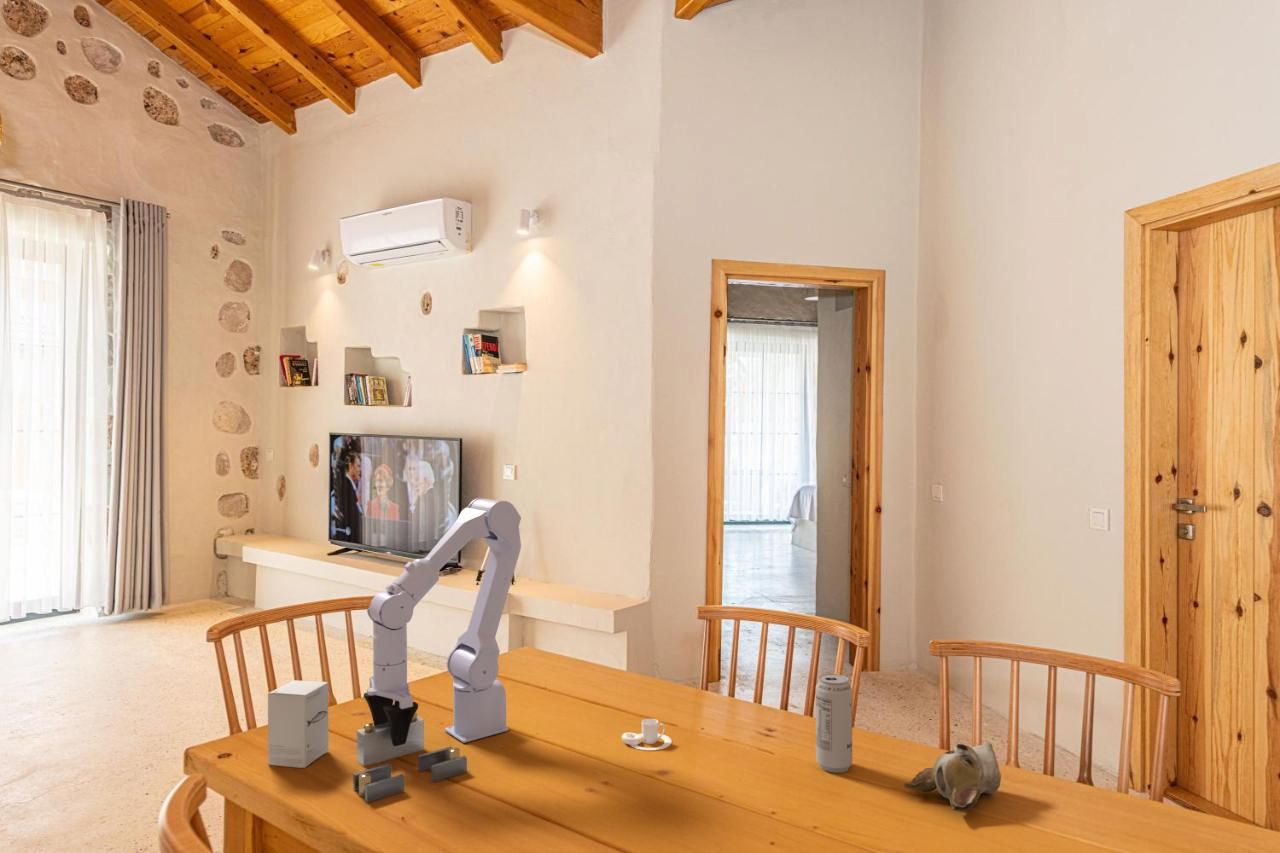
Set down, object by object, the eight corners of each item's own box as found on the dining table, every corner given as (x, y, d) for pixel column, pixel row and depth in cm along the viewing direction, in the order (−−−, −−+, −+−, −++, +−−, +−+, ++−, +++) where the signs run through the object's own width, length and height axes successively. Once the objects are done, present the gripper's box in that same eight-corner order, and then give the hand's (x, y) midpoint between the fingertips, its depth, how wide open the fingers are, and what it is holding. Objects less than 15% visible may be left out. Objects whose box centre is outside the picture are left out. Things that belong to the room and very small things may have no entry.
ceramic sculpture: (1020, 743, 127) (955, 771, 119) (1022, 798, 127) (958, 830, 119) (961, 722, 136) (898, 747, 128) (964, 773, 136) (901, 801, 128)
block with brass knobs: (417, 745, 150) (416, 709, 150) (424, 750, 147) (423, 714, 147) (357, 761, 143) (356, 724, 143) (363, 767, 140) (363, 729, 140)
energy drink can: (857, 773, 136) (857, 683, 136) (821, 774, 136) (821, 684, 136) (845, 758, 142) (845, 672, 142) (811, 759, 142) (811, 673, 142)
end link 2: (451, 760, 143) (451, 743, 142) (467, 772, 138) (467, 754, 138) (418, 770, 139) (417, 752, 139) (433, 782, 134) (433, 764, 134)
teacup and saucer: (617, 748, 148) (617, 726, 148) (634, 732, 156) (633, 711, 156) (662, 755, 145) (662, 732, 145) (677, 739, 152) (677, 717, 152)
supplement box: (305, 769, 139) (304, 695, 139) (266, 765, 141) (265, 692, 141) (330, 751, 147) (329, 681, 146) (293, 748, 148) (292, 678, 148)
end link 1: (389, 778, 136) (389, 760, 135) (404, 791, 131) (404, 772, 131) (352, 789, 132) (352, 770, 132) (366, 803, 127) (366, 783, 127)
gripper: (352, 655, 148) (353, 731, 148) (384, 675, 137) (384, 756, 137) (390, 648, 152) (391, 721, 152) (424, 667, 141) (424, 746, 141)
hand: (390, 737), depth 145 cm, fingers open, 7 cm apart
